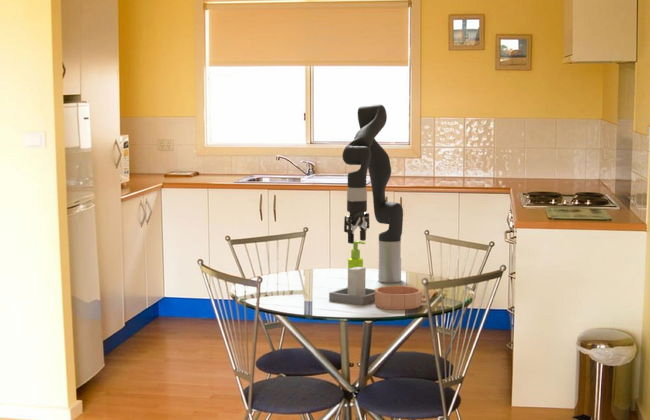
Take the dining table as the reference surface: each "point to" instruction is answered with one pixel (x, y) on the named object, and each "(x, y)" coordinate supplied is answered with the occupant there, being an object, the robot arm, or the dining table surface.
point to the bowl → (397, 297)
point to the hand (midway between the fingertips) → (356, 241)
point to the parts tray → (352, 296)
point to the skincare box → (356, 281)
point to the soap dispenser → (355, 256)
